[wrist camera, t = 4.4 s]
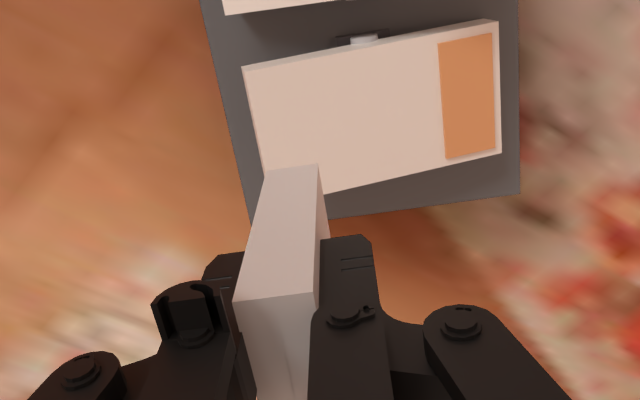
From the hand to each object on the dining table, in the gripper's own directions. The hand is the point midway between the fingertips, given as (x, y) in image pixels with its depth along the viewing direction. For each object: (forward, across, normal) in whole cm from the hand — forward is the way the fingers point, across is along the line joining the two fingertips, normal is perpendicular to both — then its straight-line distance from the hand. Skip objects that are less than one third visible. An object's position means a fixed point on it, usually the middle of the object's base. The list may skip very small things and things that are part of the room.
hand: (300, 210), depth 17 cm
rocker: (+11, +3, 0) cm, 11 cm away
